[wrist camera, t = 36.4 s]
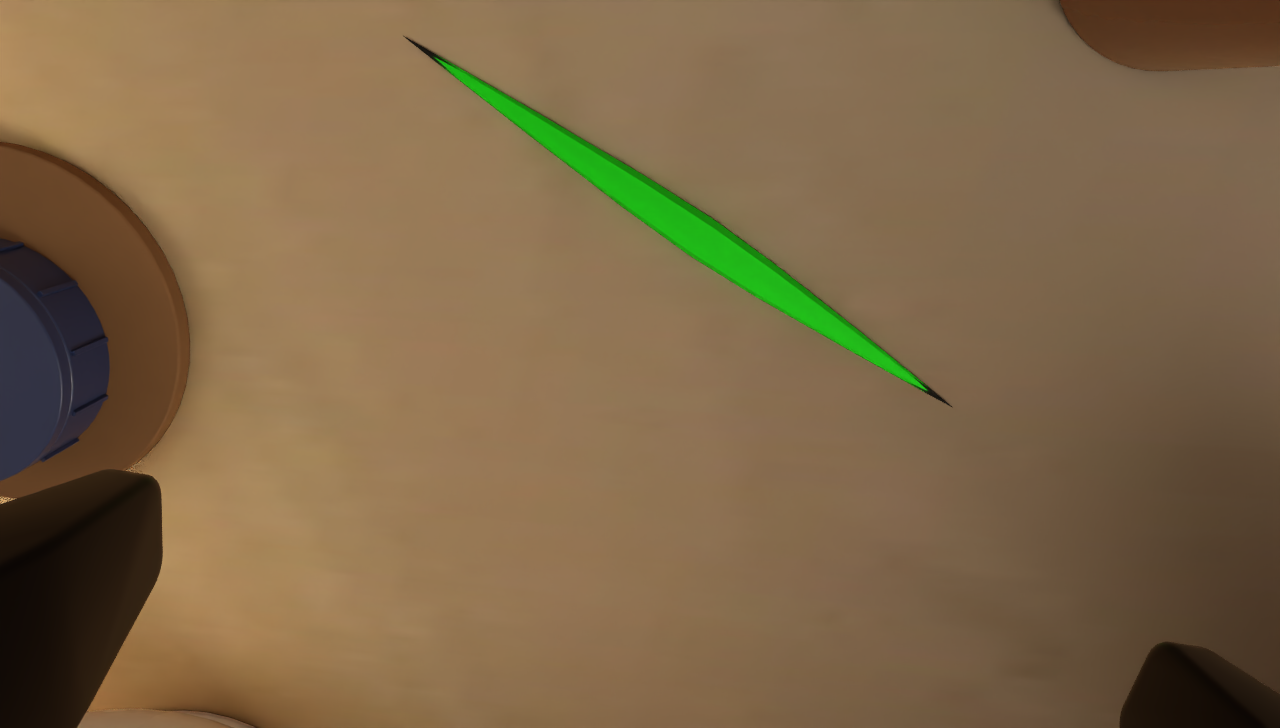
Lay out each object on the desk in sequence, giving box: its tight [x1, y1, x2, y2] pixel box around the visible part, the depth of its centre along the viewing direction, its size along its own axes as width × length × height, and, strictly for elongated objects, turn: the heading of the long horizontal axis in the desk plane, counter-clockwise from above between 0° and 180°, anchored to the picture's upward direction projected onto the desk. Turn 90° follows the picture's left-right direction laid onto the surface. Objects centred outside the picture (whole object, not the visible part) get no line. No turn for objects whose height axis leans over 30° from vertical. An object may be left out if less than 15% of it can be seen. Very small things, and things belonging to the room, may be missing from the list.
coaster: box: [0, 142, 190, 499], centre depth 21 cm, size 8×8×1 cm
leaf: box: [405, 37, 952, 407], centre depth 20 cm, size 1×14×1 cm, turn 56°
